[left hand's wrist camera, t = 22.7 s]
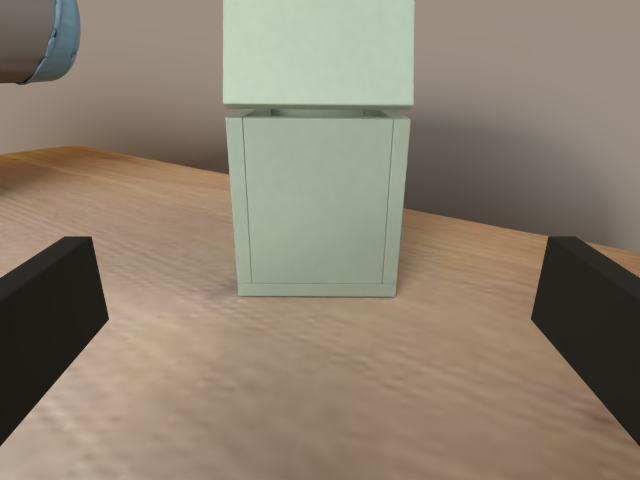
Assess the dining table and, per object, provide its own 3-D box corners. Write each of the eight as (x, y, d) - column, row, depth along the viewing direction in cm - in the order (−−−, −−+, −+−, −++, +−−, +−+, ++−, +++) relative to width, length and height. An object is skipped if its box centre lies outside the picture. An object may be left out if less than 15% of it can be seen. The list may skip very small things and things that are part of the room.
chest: (266, 215, 38) (261, 98, 35) (368, 216, 38) (374, 99, 35) (238, 296, 25) (225, 117, 21) (395, 297, 25) (411, 119, 21)
